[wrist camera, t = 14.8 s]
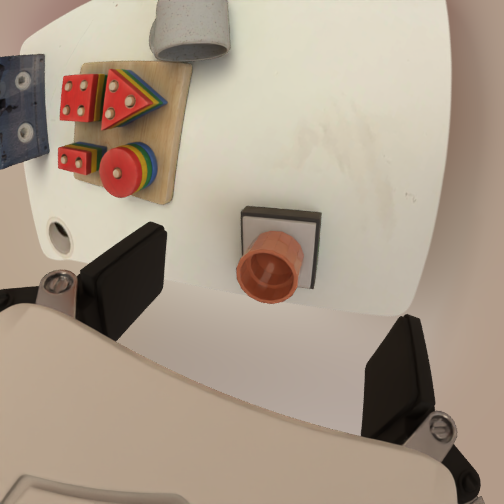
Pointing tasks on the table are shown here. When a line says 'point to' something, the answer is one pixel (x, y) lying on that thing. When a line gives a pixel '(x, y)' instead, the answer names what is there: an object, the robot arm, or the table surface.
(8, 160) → the vhs cassette tape
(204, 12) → the ceramic mug
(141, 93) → the shape sorter
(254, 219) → the scale
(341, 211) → the table surface
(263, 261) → the terracotta pot
